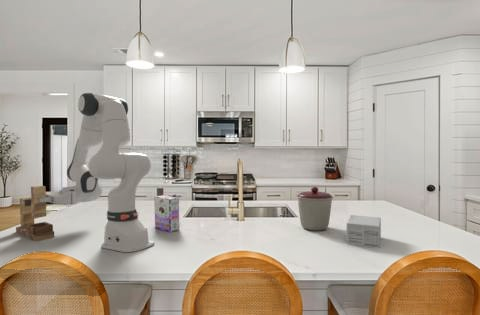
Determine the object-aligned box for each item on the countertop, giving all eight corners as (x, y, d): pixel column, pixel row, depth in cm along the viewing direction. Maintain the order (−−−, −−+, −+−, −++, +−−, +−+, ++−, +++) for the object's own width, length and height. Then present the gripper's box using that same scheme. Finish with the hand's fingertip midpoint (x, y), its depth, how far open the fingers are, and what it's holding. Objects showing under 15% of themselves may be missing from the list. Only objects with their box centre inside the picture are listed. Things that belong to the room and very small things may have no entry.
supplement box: (350, 234, 148) (350, 214, 147) (380, 237, 142) (381, 217, 142) (346, 244, 132) (346, 222, 132) (379, 248, 127) (380, 225, 126)
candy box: (179, 230, 155) (179, 197, 155) (169, 232, 151) (169, 199, 150) (164, 225, 165) (163, 194, 164) (154, 227, 160) (154, 196, 160)
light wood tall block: (46, 216, 145) (45, 186, 145) (35, 218, 142) (34, 187, 141) (42, 214, 149) (41, 185, 148) (31, 216, 145) (30, 186, 144)
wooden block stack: (54, 236, 145) (53, 201, 144) (34, 241, 138) (33, 204, 138) (34, 228, 159) (33, 196, 159) (16, 232, 153) (15, 198, 152)
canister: (289, 228, 157) (289, 187, 157) (308, 222, 171) (308, 183, 170) (322, 235, 145) (322, 190, 144) (339, 227, 158) (339, 186, 158)
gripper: (58, 187, 161) (27, 190, 150) (77, 191, 149) (45, 195, 138) (58, 199, 161) (28, 203, 151) (77, 204, 149) (45, 209, 138)
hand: (36, 199), depth 144 cm, fingers closed on light wood tall block, 4 cm apart
